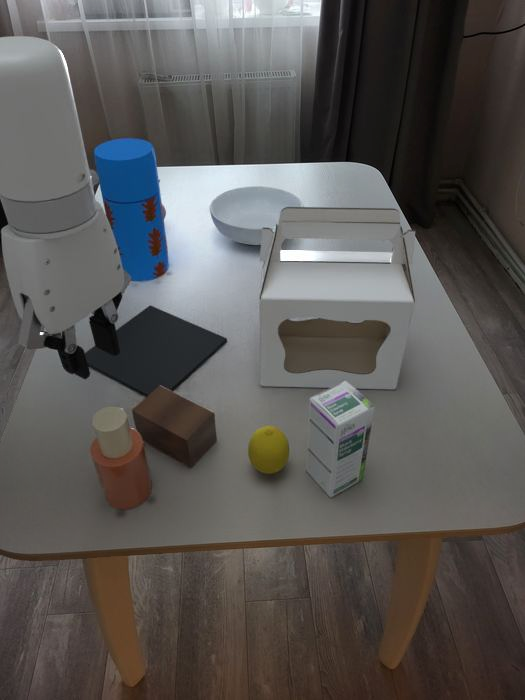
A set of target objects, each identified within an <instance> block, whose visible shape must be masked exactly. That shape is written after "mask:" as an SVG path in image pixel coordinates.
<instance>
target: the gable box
mask: <svg viewBox="0 0 525 700" xmlns="http://www.w3.org/2000/svg"><path fill="white" fill-rule="evenodd" d="M287 239H289V240H294V239H309V240H310V239H317V240H324V239H325V240H370V241H371V240H373V241H374V240H376V241H377V240H378V241H379V240H380V241H382V242H383V241H389V242H390V243H391V245H392V249H391V251H344V250H342V251H341V250H339V251H338V250H287V249H286V250H284V249H283V250H282V244H283V243H284V242H285V240H287ZM415 240H416V229H408V230H406V231H405V232H404V231H403V227H402V225H401V213H400V212H399V210H398V209H397V208H392V207H391V208H390V207H389V208H387V207H386V208H385V207H383V208H382V207H326V206H325V207H324V206H323V207H321V206H319V207H318V206H315V207H314V206H304V207H285V208H283V209H282V210H281V213H280V217H279V222H278V225H277V224H275V225H274V227H273V229H272V230H271V229H270V228H265V227H263V228H262V239H261V245H260V250H259V262H261V271H260V286H259V298H258V299H259V300H258V301H259V302H258V304H259V385H260V386H261V387H277V388H278V387H279V388H283V387H284V388H287V387H288V388H318V389H320V388H322V389H330V388H332V387H334V386H337V385H339V384H341V383H342V382H344V381H347V382H348V383H349V384H350V385H352V386H353V387H354V388H355V389H357V390H359V389H360V390H362V389H363V390H396V389H397V387H398V382H399V377H400V372H401V368H402V364H403V358H404V354H405V349H406V345H407V340H408V336H409V331H410V327H411V322H412V316H413V312H414V308H415V304H416V297H415V293H414V287H413V281H412V275H411V270H410V269H411V268H410V265H413V262H414V261H413V260H414V250H415ZM294 318H312V319H307V320H292V319H294ZM358 321H361V322H358Z"/></svg>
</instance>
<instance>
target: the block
mask: <svg viewBox="0 0 525 700" xmlns="http://www.w3.org/2000/svg"><path fill="white" fill-rule="evenodd" d="M131 414H132V418H133V423H134V426H135V430H136V431H137V432H138V433H139V434H140V435H141V437H142V440H143V443H146V444H148V446H149V445H150V446H152V447H153V448H154V449H156V450H158V451H160V452H161V453H163V454H165V455H167V456H169V457H171V458H172V459H174V460H176V461H178V462H179V463H181V464H182V465H184V466H186V467H188V468H190V469H192V468H193V467H194V466H195V465H196V464H197V463H198V461H200V459H202V457H204V455H205V454H206V453H207V452H208V451H209V450H210V449H211V448H212V446H214V445H215V443H216V442H217V441H218V439H217V437H218V436H217V427H216V426H217V425H216V415H215V412H214V411H212V410H210V409H208V408H206V407H204V406H202V405H200V404H199V403H196V402H194V401H192V400H190V399H188V398H186V397H185V396H183V395H180V394H179V393H176V392H174V391H173V392H172V391H171V390H169V389H167V388H165V387H163V386H161V385H160V386H159V387H157V388H156V389H155V390H154V391H153V392H152V393H151V394H150V395H148V396H147V397H145V398H144V399H143V400H142V401H140V402H139V403H138V404H137V405H136V406H135V407H133V408H132V409H131Z"/></svg>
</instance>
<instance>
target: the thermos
mask: <svg viewBox="0 0 525 700" xmlns="http://www.w3.org/2000/svg"><path fill="white" fill-rule="evenodd" d="M93 154H94V165H95V168H96V173H97V174H98V176H99V182H98V184H99V188H100V193H101V198H102V203H103V207H104V208H103V209H104V212H105V214H106V217H107V219H108V221H109V224H110V226H111V229H112V232H113V235H114V238H115V241H116V244H117V248H118V251H119V255H120V259H121V263H122V268H123V269H124V270H125V271H126V272H127V273H128V274H129V275H130V276H131V282H148V281H152V280H155V279H158V278H160V277H162V276H163V275H164V274H165V273H167V271H168V269H169V266H170V265H169V249H168V241H167V234H166V233H167V232H166V227H165V219H164V217H163V210H162V204H163V203H162V198H161V197H162V195H161V188H160V182H159V180H160V179H159V171H158V165H157V164H158V163H157V157H156V153H155V149H154V145H153V144H152V142H149V141H147V140H145V139H140V138H131V137H129V138H116V139H113V140H107V141H105V142H102V143H100V144H99V145H98V146H96V147H95V148H94V151H93Z"/></svg>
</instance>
